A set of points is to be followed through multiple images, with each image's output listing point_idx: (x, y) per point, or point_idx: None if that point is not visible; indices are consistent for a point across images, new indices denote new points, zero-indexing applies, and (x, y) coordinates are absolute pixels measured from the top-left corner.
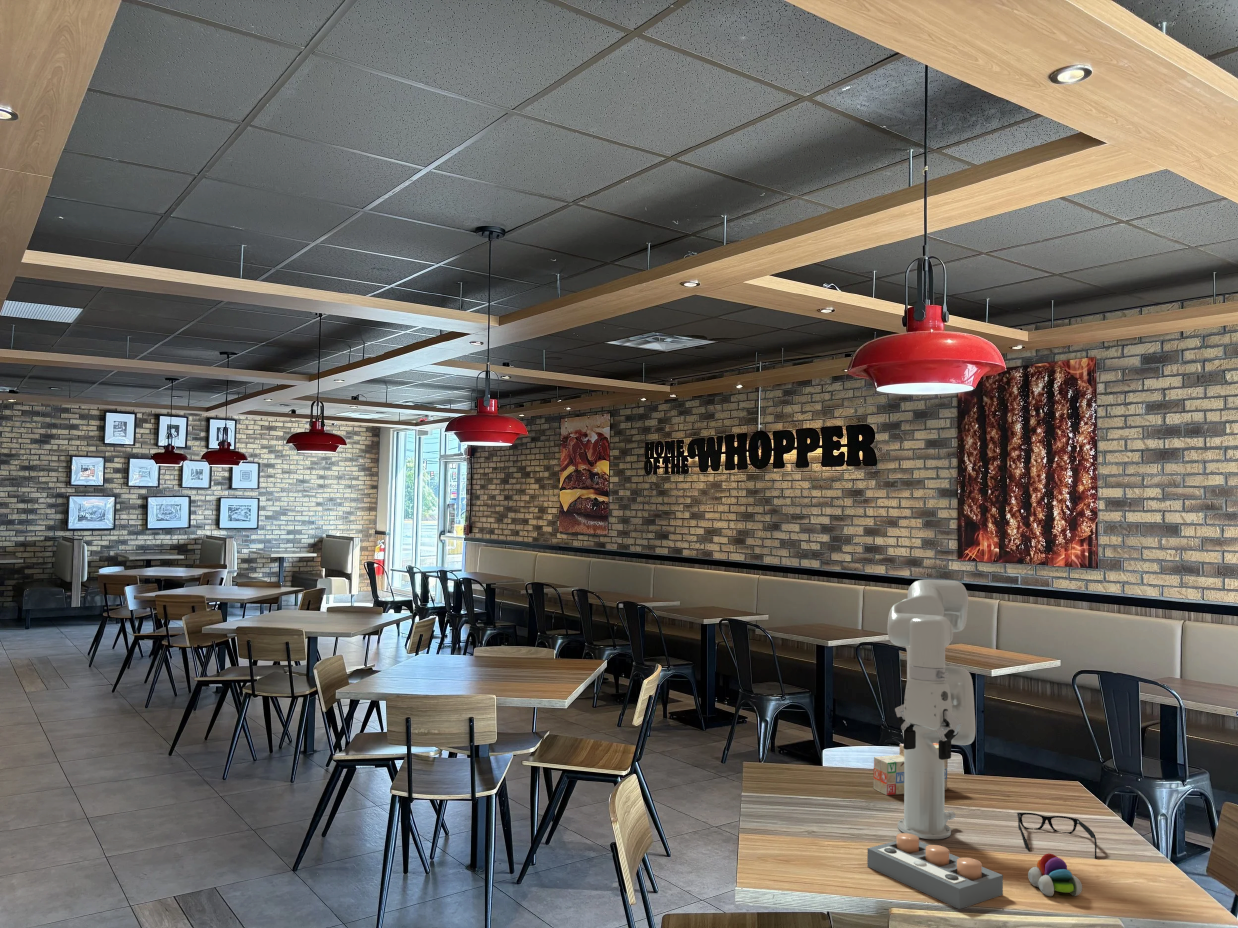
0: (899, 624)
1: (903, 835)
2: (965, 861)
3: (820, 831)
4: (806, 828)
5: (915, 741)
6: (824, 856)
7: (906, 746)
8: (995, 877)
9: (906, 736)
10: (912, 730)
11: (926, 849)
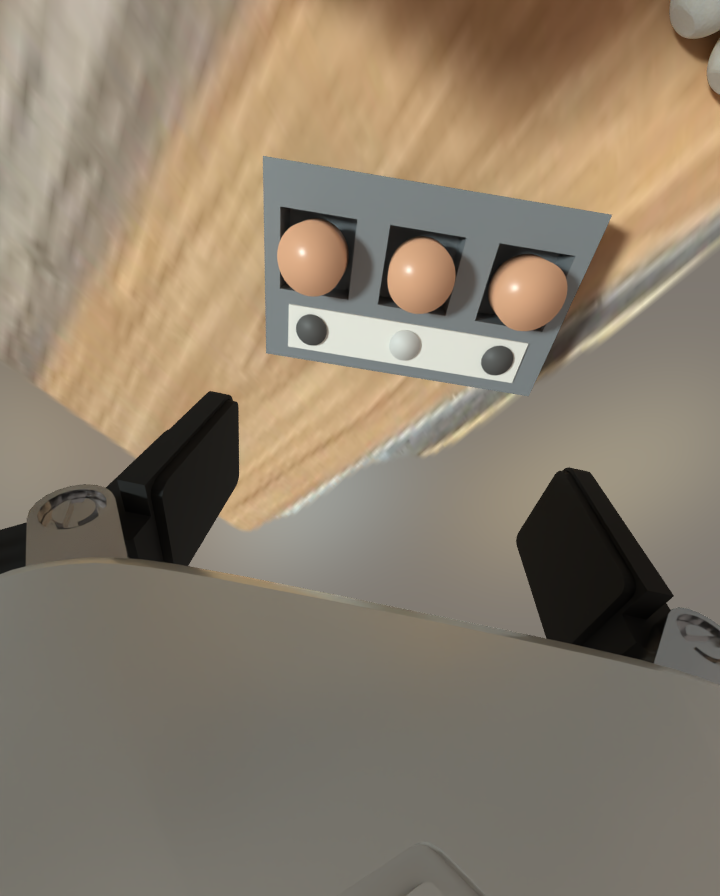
0: None
1: (295, 260)
2: (520, 302)
3: (43, 229)
4: (15, 244)
5: (215, 428)
6: (195, 364)
7: (231, 491)
8: (593, 254)
9: (196, 548)
10: (150, 520)
11: (398, 305)
